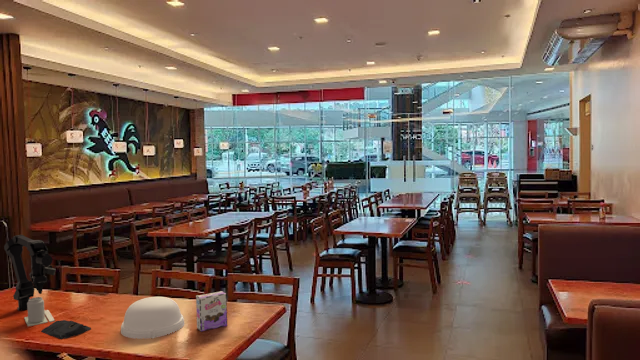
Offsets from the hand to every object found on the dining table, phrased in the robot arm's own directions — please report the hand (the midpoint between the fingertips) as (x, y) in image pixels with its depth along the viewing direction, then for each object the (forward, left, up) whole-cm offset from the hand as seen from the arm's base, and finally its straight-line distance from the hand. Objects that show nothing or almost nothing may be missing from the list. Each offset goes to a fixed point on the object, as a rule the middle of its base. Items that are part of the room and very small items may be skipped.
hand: (39, 292), depth 265 cm
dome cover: (+62, +41, -12) cm, 76 cm away
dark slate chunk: (+39, +6, -13) cm, 41 cm away
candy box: (+82, +64, -12) cm, 105 cm away
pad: (+11, -4, -12) cm, 17 cm away
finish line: (+8, +3, -12) cm, 15 cm away
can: (+15, -4, -12) cm, 19 cm away
